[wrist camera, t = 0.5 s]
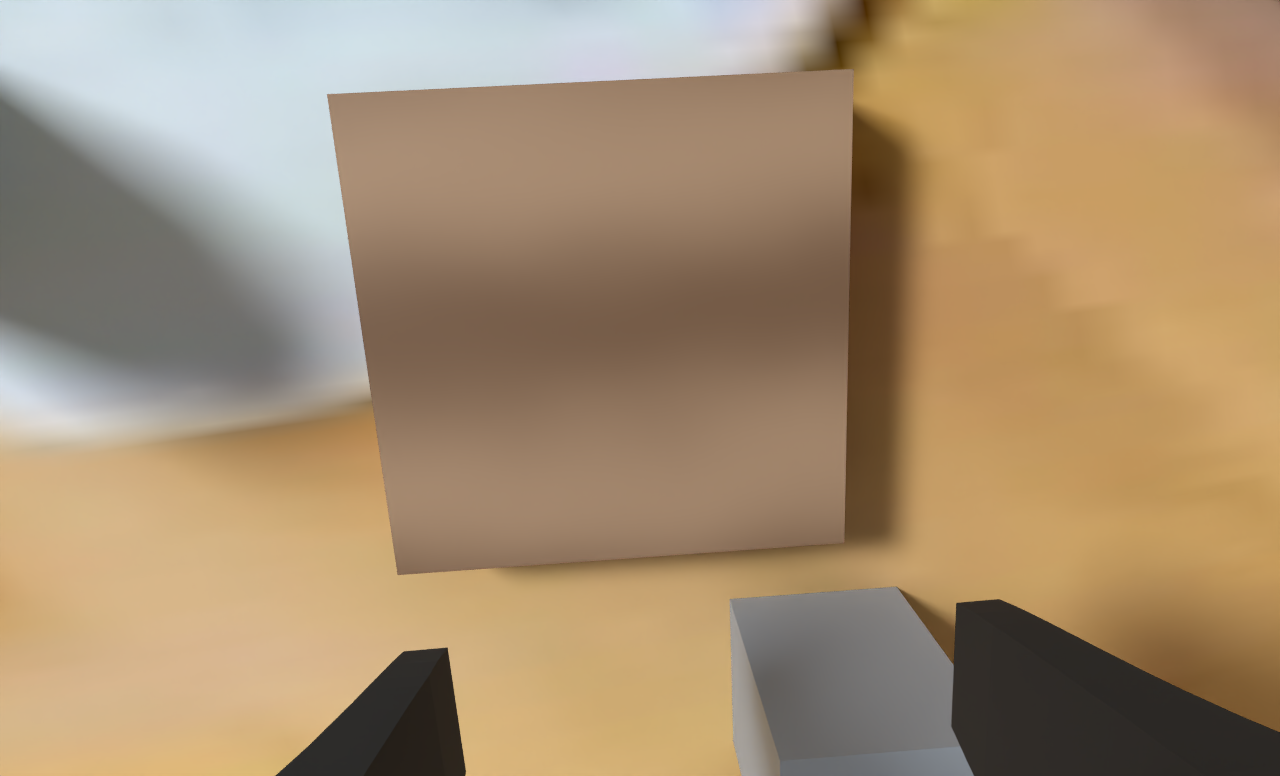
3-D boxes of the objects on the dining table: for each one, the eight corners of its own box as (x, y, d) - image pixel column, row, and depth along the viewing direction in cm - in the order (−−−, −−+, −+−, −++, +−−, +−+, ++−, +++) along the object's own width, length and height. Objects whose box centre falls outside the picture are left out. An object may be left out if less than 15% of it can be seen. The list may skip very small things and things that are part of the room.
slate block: (890, 728, 22) (994, 923, 16) (733, 741, 22) (781, 942, 16) (896, 586, 21) (1009, 742, 15) (729, 598, 21) (779, 761, 15)
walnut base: (809, 491, 21) (844, 542, 18) (426, 517, 20) (398, 574, 17) (812, 86, 18) (853, 69, 15) (371, 107, 18) (327, 94, 15)
